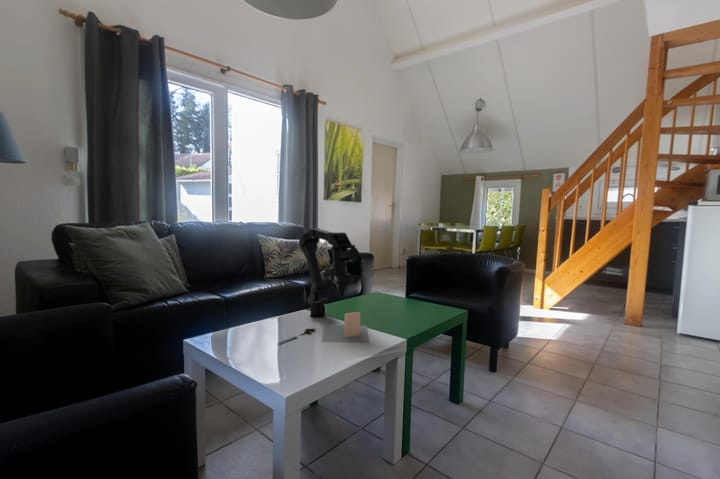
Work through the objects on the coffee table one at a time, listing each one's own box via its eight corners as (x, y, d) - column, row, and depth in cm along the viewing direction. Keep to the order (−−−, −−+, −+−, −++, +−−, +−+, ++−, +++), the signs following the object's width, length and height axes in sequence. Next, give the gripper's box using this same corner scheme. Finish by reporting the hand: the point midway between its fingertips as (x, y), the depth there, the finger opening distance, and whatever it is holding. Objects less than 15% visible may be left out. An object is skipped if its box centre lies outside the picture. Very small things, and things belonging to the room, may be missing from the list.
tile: (344, 335, 139) (344, 313, 138) (356, 333, 142) (357, 311, 141) (346, 337, 137) (347, 314, 137) (359, 335, 140) (360, 312, 140)
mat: (321, 343, 132) (321, 341, 132) (325, 326, 152) (325, 324, 152) (369, 343, 132) (369, 342, 132) (366, 327, 152) (366, 325, 152)
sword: (272, 350, 124) (272, 345, 124) (265, 348, 126) (265, 342, 126) (319, 332, 144) (319, 327, 144) (313, 330, 147) (313, 326, 146)
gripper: (317, 261, 160) (319, 295, 160) (325, 262, 142) (327, 301, 142) (341, 260, 163) (343, 293, 163) (351, 261, 145) (353, 299, 145)
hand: (341, 296), depth 153 cm, fingers closed
